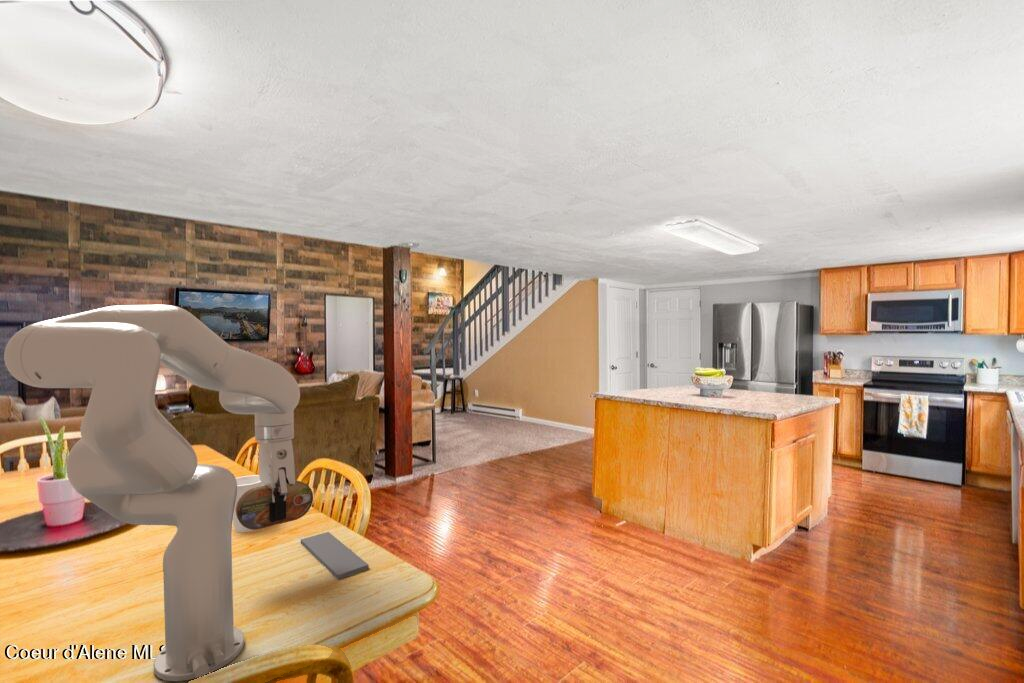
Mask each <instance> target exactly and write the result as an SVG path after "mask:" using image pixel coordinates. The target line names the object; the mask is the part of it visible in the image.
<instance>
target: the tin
mask: <svg viewBox="0 0 1024 683" xmlns="http://www.w3.org/2000/svg"><path fill="white" fill-rule="evenodd" d="M286 485H287V494H286V518H285V519H283V520H278V521H274V522H270V520H269V503H270V502H271V489H270V488H269V487H267V486H261V487H256V488H253V489H250V490H248V491H247V492H245V493H244V494H243V495H242V496H241V497H240V499H239V500H238V502H237V505H236V516H237V518H238V520H239V522H240V523H241V524H242V525H243V526H244V527H246V528H248V529H252V530H253V531H255V530H256V531H257V530H261V529H265V528H269V527H273V526H277V525H281V524H285V523H290V522H293V521H296V520H300V519H301V518H302V517H305V515H307V513H308V512H309V510H310V509H311V507H312V505H313V502H314V492H313V491H312V488H311V487H310V486H309V485H308V484H307V483H305V482H303V481H300V480H296V479H295V484H294V485H293V486H290V485H289V484H287V483H286ZM275 486H276V487H277V486H279V485H278V484H277V485H275ZM277 491H278V490H277ZM277 491H275V493H276V492H277Z"/></svg>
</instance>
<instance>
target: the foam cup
mask: <svg viewBox="0 0 1024 683" xmlns="http://www.w3.org/2000/svg"><path fill="white" fill-rule="evenodd" d="M235 478H236V481H237V496H236V501H235V507H234V512H233V519H232V527H233V529H234V532H235V533H248V532H252V531H254V530H252V529H248V528H246V527H244V526H243V525H242V524H241V523H240V522H239V520H238V518H237V516H236V505H237V502H238V500H239V499H240V497H241V496H242V495H243V494H244V493H245V492H247V491H248V490H250V489H253V488H256V487H261V486H265V484H263V483H262V482H261V481H260V478H259V474H256V475H255V474H251V475H245V476H244V475H243V476H239V477H235Z"/></svg>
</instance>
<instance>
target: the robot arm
mask: <svg viewBox="0 0 1024 683" xmlns="http://www.w3.org/2000/svg"><path fill="white" fill-rule="evenodd" d="M3 353H4V354H3V359H4V360H3V361H4V365H5V367H6V369H7V371H8V372H9V373H10V375H11V376H12V377H13V378H15V380H17V381H19V382H20V383H22V384H25V385H27V386H30V387H33V388H35V387H36V388H40V389H91V393H90V396H89V399H88V403H87V407H86V410H85V412H84V416H83V417H82V420H81V424H80V429H79V430H80V437H81V438H80V439H79V440H78V441H77V442H75V444H74V445H73V446H72V447H71V449H70V451H69V453H68V456H67V458H66V464H65V465H66V467H65V468H66V469H65V470H66V475H67V479H68V481H69V484H70V485H71V486H72V488H73V489H74V490H75V491H76V492H77V493H78V494H79V495H81V496H82V497H83V498H85V499H86V500H88V501H89V502H91V503H92V504H94V505H95V506H97V507H98V508H100V509H101V510H102V511H104V512H105V513H107V514H108V515H110V516H112V517H113V518H115V519H117V520H119V521H121V522H123V523H125V524H128V525H129V524H130V525H136V526H138V525H139V526H171V527H175V528H176V532H175V535H174V536H173V538H172V539H171V540H170V542H169V543H168V545H167V546H166V548H165V551H164V553H163V556H162V557H163V558H162V571H163V599H164V600H163V606H164V607H163V608H164V609H163V610H164V639H165V641H164V644H165V645H164V646H165V647H164V648H162V649H161V651H160V652H158V654H157V655H156V657H155V658H154V660H153V661H154V662H153V673H154V674H155V676H156V677H157V678H158V679H160V680H163V681H168V682H182V681H183V682H184V681H189V680H193V679H194V678H195V679H199V678H198V677H200V676H203V675H205V674H207V673H209V672H212V671H214V672H216V671H218V670H219V668H220V669H221V668H223V667H224V666H226V665H227V664H230V663H231V662H232V661H233V660H234V659H235V658H236V657H237V656H238V655H239V654H240V653H241V651H242V650H243V648H244V646H245V636H244V635H245V634H244V632H243V631H242V630H241V629H240V628H238V627H235V626H234V598H233V597H234V595H233V594H234V593H233V589H234V588H233V556H232V555H233V552H232V545H233V544H232V535H233V534H232V531H233V529H232V528H233V520H232V519H233V512H234V507H235V501H236V496H237V481H236V478H237V477H235V475H234V473H232V471H231V470H229V469H227V468H225V467H223V466H220V465H214V464H207V463H206V464H205V463H202V464H201V463H200V464H198V457H197V456H198V455H197V453H196V451H195V450H194V448H193V446H192V445H191V443H190V442H189V441H188V439H186V438H185V437H184V436H183V435H182V434H181V433H180V432H179V431H178V430H177V429H176V428H175V427H174V425H172V423H171V422H170V421H169V420H167V418H165V416H164V415H163V414H162V413H161V412H160V410H159V409H158V407H157V406H156V401H155V399H156V397H155V396H156V395H155V394H156V388H157V383H158V378H159V373H160V372H159V371H160V368H161V366H163V367H164V368H167V370H170V371H171V372H172V373H175V374H176V375H178V376H180V377H181V378H182V379H184V380H186V381H187V382H188V383H190V384H192V385H194V386H196V387H199V388H202V389H206V390H211V391H216V392H218V393H219V394H218V399H219V404H220V405H221V407H222V408H223V409H224V410H225V411H227V412H229V413H231V414H235V415H254V441H255V442H258V443H259V446H258V475H259V478H260V481H261V482H262V483H263V484H265V486H267V487H269V488H270V489H271V502H270V503H269V520H270V522H274V521H278V520H283V519H285V518H286V494H287V485H286V483H287V484H289V485H290V486H293V485H294V484H295V480H296V473H295V472H296V471H295V458H294V457H295V455H294V448H293V441H292V439H294V438H295V420H294V419H295V418H294V416H295V414H294V410H295V409H296V408H297V406H298V405H299V403H300V399H301V391H300V386H299V384H298V381H297V380H296V378H295V377H294V376H293V375H292V374H291V373H290V372H289V371H288V370H287V369H286V368H285V367H283V366H282V365H280V364H279V363H278V362H275V361H273V360H271V359H269V358H266V357H264V356H260V355H258V354H255V353H252V352H250V351H247V350H244V349H241V348H239V347H236V346H232V345H231V344H229V343H227V342H226V341H225V340H224V339H222V338H221V337H220V335H218V334H217V333H215V332H214V331H213V330H212V329H210V328H209V327H208V326H207V325H206V324H204V322H203V321H201V320H200V319H198V317H196V316H195V315H194V314H192V312H189V311H188V310H187V309H184V308H183V307H180V306H177V305H171V304H119V305H109V306H105V307H99V308H97V309H91V310H87V311H82V312H78V313H74V314H69V315H66V316H65V315H64V316H61V317H56V318H52V319H46V320H41V321H37V322H34V323H31V324H28V325H27V326H25V327H23V328H20V329H19V330H18V331H17V332H15V333H14V335H13V336H11V338H9V340H8V342H7V343H6V345H5V349H4V352H3ZM277 484H278V485H279V486H277V487H276V486H275V485H277ZM277 490H278V491H277ZM275 491H277V492H276V493H275ZM217 669H218V670H217ZM215 670H216V671H215ZM212 673H213V672H212ZM209 674H210V673H209ZM207 675H208V674H207ZM205 676H206V675H205ZM203 677H204V676H203Z"/></svg>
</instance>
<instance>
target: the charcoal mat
mask: <svg viewBox="0 0 1024 683" xmlns="http://www.w3.org/2000/svg"><path fill="white" fill-rule="evenodd" d="M300 544H301V546H302V547H304V548H305V549H306V551H308V553H310V554H311V556H313V557H314V558H315V559H316V560H317V561H318V562H319V563H320V564H321V565H322V564H323V565H322V566H323V567H324V566H325V567H326V568H327V569H328V570H329V571H328V570H327V569H326V568H325V567H324V568H325V569H326V570H327V571H328V572H329V573H330V572H331V573H332V574H331V573H330V574H331V575H332V576H333V577H334V578H335V579H336V580H341V579H345V578H347V577H349V576H352V575H356V574H358V573H362V572H364V571H367V570H369V568H370V567H369V563H367V562H366V561H365V560H364V559H362V558H361V557H360V556H359V555H357V553H356V552H354V551H353V550H351V548H348V546H347V545H345V543H343V542H342V541H340V540H339V539H338V538H337V537H335V535H333V534H332V533H331V532H329V531H326V532H322V533H319V534H316V535H311V536H307V537H305V538H301V539H300Z"/></svg>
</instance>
